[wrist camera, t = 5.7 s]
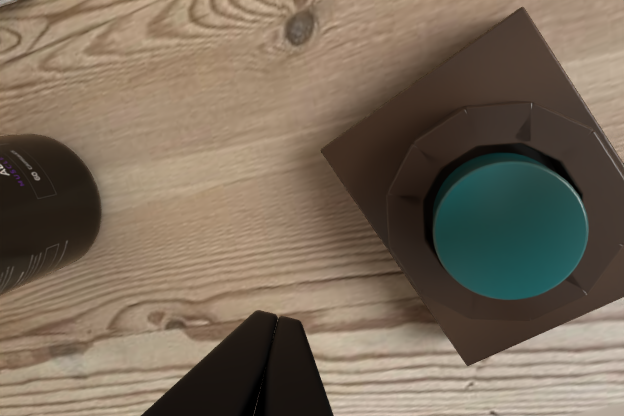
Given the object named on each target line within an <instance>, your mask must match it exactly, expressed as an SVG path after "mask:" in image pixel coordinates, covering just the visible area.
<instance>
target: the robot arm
mask: <svg viewBox="0 0 624 416" xmlns="http://www.w3.org/2000/svg"><path fill="white" fill-rule="evenodd" d="M277 320H278V321H277ZM276 324H277V325H276ZM275 328H276V329H275ZM274 332H275V333H274ZM273 336H274V337H273ZM272 340H273V341H272ZM260 388H261V389H260ZM259 392H260V393H259ZM258 396H259V397H258ZM257 400H258V401H257ZM256 404H257V405H256ZM255 408H256V409H255ZM254 412H255V413H254ZM141 416H334V415H333V412H332V409H331V407H330V404H329V401H328V398H327V395H326V392H325V389H324V386H323V383H322V380H321V377H320V375H319V372H318V369H317V366H316V363H315V360H314V357H313V354H312V351H311V348H310V345H309V343H308V340H307V337H306V334H305V331H304V328H303V325H302V323H301V321H299V320H297V319H293V318H289V317H285V316H280V317H279V318H278V317H277V315H276V314H273V313H269V312H265V311H261V310H257V311H255V312H254V313H253V314H251V315H250V316H249V317H248V318H247V319H246V320H245V321H244V322H243V323H242V324H240V325H239V326H238V327H237V328H236V329H235V330H234V331H233V332H232V333H231V334H230V335H228V336H227V337H226V338H225V339H224V340H223V341H222V342H221V343H220V344H219V345H218V346H216V347H215V348H214V349H213V350H212V351H211V352H210V353H209V354H208V355H207V356H206V357H204V358H203V359H202V360H201V361H200V362H199V363H198V364H197V365H196V366H195V367H194V368H192V369H191V370H190V371H189V372H188V373H187V374H186V375H185V376H184V377H183V378H182V379H180V380H179V381H178V382H177V383H176V384H175V385H174V386H173V387H172V388H171V389H170V390H168V391H167V392H166V393H165V394H164V395H163V396H162V397H161V398H160V399H159V400H158V401H156V402H155V403H154V404H153V405H152V406H151V407H150V408H149V409H148V410H147V411H145V412H144V413H143V414H142V415H141Z"/></svg>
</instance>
